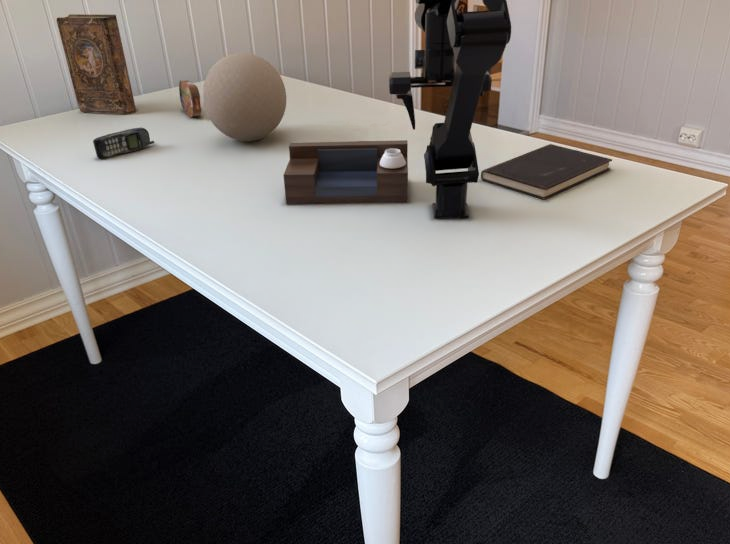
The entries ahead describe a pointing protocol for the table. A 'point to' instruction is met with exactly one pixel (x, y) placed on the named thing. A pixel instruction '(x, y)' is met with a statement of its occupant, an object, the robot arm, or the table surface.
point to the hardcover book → (546, 171)
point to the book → (97, 63)
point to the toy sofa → (344, 173)
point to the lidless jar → (392, 159)
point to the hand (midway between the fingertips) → (437, 128)
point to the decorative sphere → (244, 96)
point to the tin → (190, 98)
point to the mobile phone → (121, 142)
